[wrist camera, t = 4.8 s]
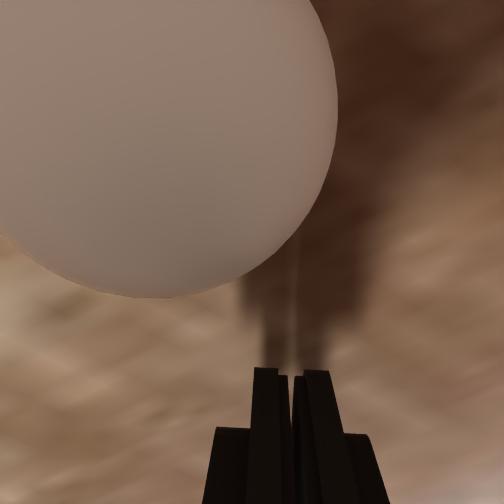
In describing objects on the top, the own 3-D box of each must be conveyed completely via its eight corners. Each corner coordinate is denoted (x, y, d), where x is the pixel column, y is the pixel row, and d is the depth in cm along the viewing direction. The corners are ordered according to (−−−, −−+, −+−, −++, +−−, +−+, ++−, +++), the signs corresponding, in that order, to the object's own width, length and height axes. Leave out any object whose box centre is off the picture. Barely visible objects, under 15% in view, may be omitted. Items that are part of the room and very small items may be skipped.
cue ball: (326, -118, 2) (451, 56, 7) (-166, -333, 4) (205, -75, 8) (71, 459, 5) (286, 302, 9) (-155, 186, 6) (123, 166, 11)
